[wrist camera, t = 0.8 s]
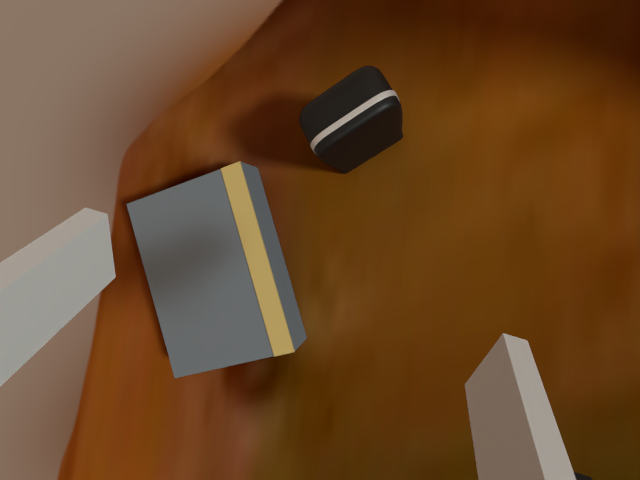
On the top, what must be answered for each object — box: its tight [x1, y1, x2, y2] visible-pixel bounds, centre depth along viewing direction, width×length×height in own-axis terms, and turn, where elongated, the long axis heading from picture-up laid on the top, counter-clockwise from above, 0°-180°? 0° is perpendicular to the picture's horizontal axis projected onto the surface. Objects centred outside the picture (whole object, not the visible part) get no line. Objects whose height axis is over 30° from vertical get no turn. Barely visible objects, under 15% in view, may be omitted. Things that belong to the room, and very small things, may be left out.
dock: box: [126, 161, 307, 378], centre depth 37 cm, size 13×18×4 cm
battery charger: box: [299, 66, 403, 174], centre depth 30 cm, size 7×4×11 cm, turn 120°
